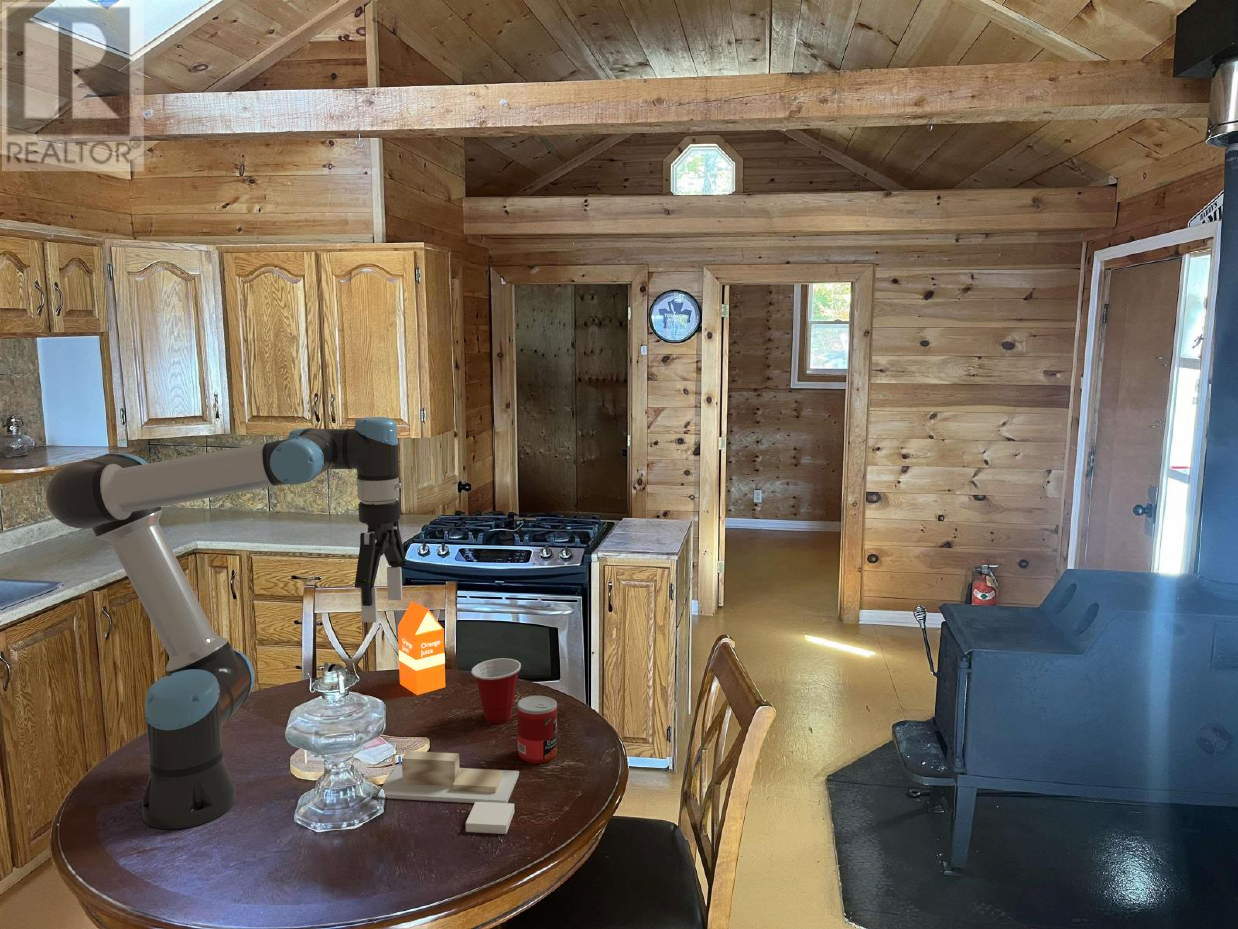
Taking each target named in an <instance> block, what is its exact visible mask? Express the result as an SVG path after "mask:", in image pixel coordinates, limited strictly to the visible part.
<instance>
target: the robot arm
mask: <svg viewBox="0 0 1238 929" xmlns="http://www.w3.org/2000/svg"><path fill="white" fill-rule="evenodd" d="M399 443H400V442H399V438H398V427H397V423H396V421H395V419H393V418H391V417H385V416H371V417H370V416H369V417H368V416H367V417H360V418H357V419H356V420H355V423H354V426H353V428H352V427H351V428H313V427H307V428H297V429H293V430H291V431H290V432H289V434H288V437H287V439H285V438H284V439H281V440H280V439H279V440H274V441H270V442H262V443H258V444H252V445H247V446H241V447H234V448H231V449H224V450H219V451H214V452H213V451H212V452H206V453H201V454H197V455H190V456H184V457H179V458H171V459H167V460H162V461H157V462H156V461H155V462H151V463H148V462H147V461H146V460H144V459H143V458H141V457H139V456H136V455H134V454H131V453H127V452H126V453H124V452H117V453H116V452H115V453H106V454H104V455H103V454H102V455H99V456H97V457H93V458H90V459H87V460H83V461H78V462H75V463H72V464H68V465H66V466H65V467H63V468H61V469H60V470H59V471H57V472H56V473H55V474H54V475H53V476H52V478H50V481H49V482H48V484H47V488H46V493H45V500H46V504H47V508H48V510H49V512H50V513H51V515H52V516H53V517H54V518H55V519H56V520H57V521H58V522H60V523H62V524H63V525H66V526H67V527H71V528H74V529H81V530H83V529H92V531H93V533H94V534H95V537H96V538H97V539H98V540H102V541H105V542H107V543H109V544H110V546H111V547H112V548H113V551H114V553H115V554H116V556H117V559H118V561H119V562H120V564H121V566H122V568H123V570H124V572H125V574H126V575H127V578H128V579H129V581H130V583H131V585H132V587H133V589H134V591H135V594H136V595H137V596H138V598H139V601H140V602H141V603H140V604H142V607H143V608H144V610H145V612H146V614H147V616H148V618H149V620H150V621H151V623H152V626H153V627H154V629H155V631H156V633H157V635H158V637H159V639H160V641H161V643H162V645H163V648H164V649H165V650H166V652H167V655H168V656H169V657H168V658H169V660H168V661H167V665H166V667H165V671H166V673H167V675H165V676H162V677H160V678H159V679H158V680H156V681H155V682H154V683H153V684H152V685H151V686H149V688H148V690H147V692H146V694H145V707H144V709H143V710H144V718H145V723H146V725H145V726H146V734H147V736H146V737H147V746H148V747H147V748H148V749H147V750H148V760H149V771H150V772H149V773H150V774H149V777H148V781H147V782H146V783H147V784H146V787H145V791H144V795H143V798H142V802H141V817H142V821H143V822H144V823H145V824H146V825H147V826H150V827H152V828H154V829H155V828H156V829H161V830H178V829H179V830H180V829H186V828H191V827H196V826H199V825H202V824H205V823H208V822H210V821H213V820H215V819H216V818H218V817H219V818H220V816H223V815H224V814H225V813H227V812H228V811H229V810H231V808H232V807H233V806H234V805H235V803H236V801H237V792H236V790H237V787H236V784H235V781H234V780H233V778H232V776H231V773H230V771H229V769H228V767H227V764H226V762H225V760H224V755H223V754H224V752H223V739H222V728H223V727H224V725H225V724H226V723H227V722H228V721H229V720H230V719H231V718H232V716H234V714H235V713H236V712H237V711H238V710H240V709H241V707H242V706H244V705H245V703H246V702H247V700H248V698H249V696H250V694H251V692H252V691H253V687H254V685H255V670H254V667H253V664H252V662H251V661H250V658H248V657H247V655H245V654H244V653H243V652H242V651H238V650H236V649H235V648H233V647H232V645H231V644H230V641H229V640H228V638H227V637H223V636H220V635H217V634H216V633H215V631H214V629H213V627H212V625H211V624H210V621H209V619H208V617H207V615H206V613H205V612H204V609H203V608H202V605H201V603H200V602H199V600H198V598H197V596H196V594H195V592H194V590H193V588H192V586H191V584H190V582H189V580H188V578H187V576H186V574H185V573H184V571H183V568H182V567H181V564H180V563H179V561H178V559H177V557H176V555H175V553H174V550H173V549H172V547H171V545H170V543H169V541H168V539H167V537H166V535H165V533H164V531H163V528H162V527H161V525H160V518H161V515H162V513H163V509H162V507H167V506H172V505H176V504H177V505H178V504H182V503H183V504H184V503H187V502H188V503H189V502H194V501H198V500H204V499H209V498H216V497H220V496H226V495H231V494H236V493H242V492H243V493H244V492H247V491H255V490H259V489H263V488H270V487H275V486H282V485H293V486H296V485H297V486H298V485H302V484H306V483H309V482H311V481H313V480H314V479H316V477H318V476H319V475H321V474H323V473H325V472H326V471H329V470H356V477H357V478H356V483H357V485H356V487H357V489H356V490H357V499H358V500H359V503H358V508H357V510H358V521H359V522H360V523H361V524H366V525H367V532H361V533H360V534H359V538H360V539H359V551H358V552H359V553H358V558H357V566H356V572H355V573H356V574H355V580H354V588H355V589H360V607H361V608H360V609H361V610H360V611H361V623H378V621H379V620H378V619H379V618H378V617H379V616H378V598H377V596H378V595H377V594H378V593H377V591H378V589H377V586H375V585H376V584H375V583H376V578H377V573H378V569H379V566H380V560H381V557H382V556H384V557H385V559H386V562H387V564H388V566H387V567H386V580H387V581H386V584H387V585H386V587H387V600H388V601H402V600H403V578H402V577H403V576H402V572H403V571H402V567H406V566H407V560H406V552H405V549H404V544H403V539H402V537H401V531H400V526H399V525H400V524H399V521H400V520H401V502H400V501H399V500H398V499H399V497H400V489H401V488H402V483H401V482H400V473H399V472H400V471H399Z"/></svg>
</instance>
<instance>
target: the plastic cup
mask: <svg viewBox="0 0 1238 929" xmlns="http://www.w3.org/2000/svg"><path fill="white" fill-rule="evenodd" d="M521 667H522V664H521V662H520V661H518V660H516V659H513V658H504V657H502V658H493V659H488V660H484V661H482V662H480V663H477V664H476V665H474V666H473V667H472V668H471V674H472V676H473V677H474V679H475V682H476V684H477V689H478V693H479V698H480V703H481V706H482V711H483V716H484V720H485V721H486V722H487V723H490V724H502V723H506V722H508V721H509V720H511V718H512V714H513V708H514V704H515V699H516V698H515V697H516V691H517V690H516V689H517V682H518V680H519V679H518V678H519V672H520V670H521Z"/></svg>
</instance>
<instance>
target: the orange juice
mask: <svg viewBox="0 0 1238 929" xmlns="http://www.w3.org/2000/svg"><path fill="white" fill-rule="evenodd" d="M397 634H398V635H397V637H398V665H399V667H398V670H399V672H398V673H399V684H400V685H401V686H402V687H404V688H405V689H407V690H408V691H410V692H412V693H413V694H415V695H416V696H419V695H422V694H425V693H429V692H433V691H436V690H440V689H443V688H446V667H445V666H446V656H445V628H443V627H442V625H441V624H440V623H439V622H438V620H437V618H435V616H434V615H433V614H432V612H431V611H430V609H429V608H427V607H425V606H424V605H421V604H418V603H417V602H415V601H413V600H411V602H410V603H409V605H408V607H407V608H406V611H405V612H404V615H403V616H402V618H401V620H400V622H399V623H398V625H397Z"/></svg>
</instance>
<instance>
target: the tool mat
mask: <svg viewBox="0 0 1238 929" xmlns="http://www.w3.org/2000/svg"><path fill="white" fill-rule="evenodd" d="M461 769H472V768H471V767H469V768H468V767H467V768H466V767H459V772H460V771H461ZM476 769H477V770H492V769H489V768H476ZM495 770H496V771H503V778H502V780H501V782H500V785H499V787H498V789H497V791H496V793H487V792H469V791H453V786H437V785H420V784H403V777H402V764H396V766H395V767H394V769H393V770H392V772H391V773H390V775H389V776H388V778H387V779H386V780H385V782H384V783H383V785H382V786H381V788H380V789H383V790H384V794H385V796H386V797H387V798H386V799H394V800H395V799H396V800H410V801H411V800H413V801H414V800H415V801H429V802H431V801H432V802H446V803H447V802H451V803H463V804H464V803H465V804H466V803H469V804H475V802H492V803H509V800H510V797H511V796H512V794H513V790H514V788H515V786H516V783H517V781H518V778H519V776H520V771H519V770H508V769H495Z"/></svg>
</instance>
